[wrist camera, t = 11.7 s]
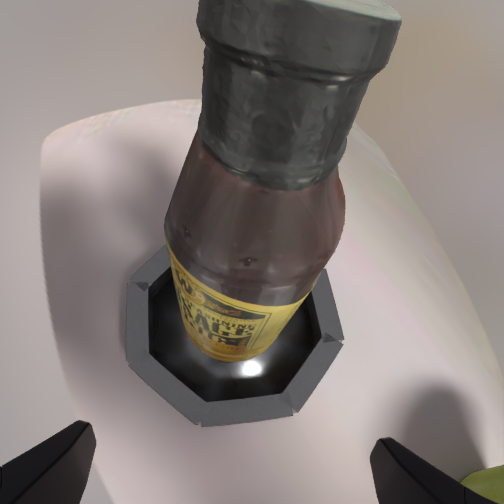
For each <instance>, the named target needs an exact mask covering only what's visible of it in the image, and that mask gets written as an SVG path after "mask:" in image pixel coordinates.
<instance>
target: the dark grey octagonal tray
mask: <svg viewBox="0 0 504 504" xmlns="http://www.w3.org/2000/svg"><path fill="white" fill-rule="evenodd" d="M130 280H131V282H132V283H127V305H126V361H127V362H129V363H130V365H129V367H130V368H131V369H132V370H133V371H134V372H135V373H136V374H137V375H138V376H140V377H141V378H142V379H143V380H144V381H145V382H146V383H147V384H148V385H149V386H150V387H151V388H152V389H154V390H155V391H156V392H157V393H158V394H159V395H160V396H161V397H163V398H164V399H165V400H166V401H167V402H168V403H169V404H171V405H172V406H173V407H174V408H175V409H176V410H178V411H179V412H180V413H181V414H183V415H184V416H185V417H186V418H187V419H189V420H190V421H191V422H192V423H194V424H195V425H198V424H199V423H200V422H201V426H202V427H208V426H220V425H231V424H240V423H248V422H256V421H263V420H270V419H277V418H283V417H289V416H293V413H298V412H299V411H300V409H301V408H302V407H303V405H304V404H305V402H306V401H307V399H308V398H309V397H310V395H311V394H312V392H313V391H314V389H315V388H316V386H317V385H318V384H319V382H320V381H321V379H322V378H323V376H324V375H325V373H326V371H327V370H328V368H329V367H330V365H331V364H332V362H333V361H334V359H335V358H336V356H337V354H338V353H339V351H340V350H341V348H342V346H343V345H344V344H342V343H341V342H342V341H343V340H344V336H343V332H342V328H341V324H340V320H339V316H338V312H337V308H336V304H335V300H334V296H333V293H332V289H331V285H330V282H329V278H328V274H327V271H326V269H322V271H321V273H320V275H319V278H318V280H317V282H316V284H315V285H314V287H313V288H312V290H311V291H310V292H309V294H308V295H307V297H306V298H305V299H304V301H303V302H302V303H301V305H300V306H299V307H298V309H297V310H296V312H295V313H294V314H293V316H292V317H291V318H290V320H289V321H288V322H287V324H286V325H285V327H284V328H283V329H282V331H281V332H280V333H279V335H278V336H277V337H276V339H275V340H274V341H273V343H272V344H271V345H270V346H269V347H268V348H267V349H266V350H265V351H264V352H263V353H261V354H260V355H258V356H256V357H254V358H252V359H250V360H246V361H241V362H232V363H224V362H221V361H219V360H216V359H214V358H211V357H209V356H208V355H206V354H205V353H203V352H201V350H199V349H198V348H197V347H196V346H195V345H194V343H193V342H192V340H191V339H190V337H189V336H188V334H187V332H186V329H185V326H184V322H183V318H182V314H181V310H180V305H179V302H178V299H177V293H176V289H175V285H174V280H173V273H172V268H171V263H170V260H169V253H168V251H167V244H166V245H165V246H164V247H163V248H162V249H160V250H159V251H158V252H157V253H156V254H155V255H154V256H153V257H152V258H151V259H150V260H149V261H148V262H146V263H145V264H144V265H143V266H142V267H141V268H140V269H139V270H138V271H137V272H136V273H135V274H134V275H133V276H132V277H131V278H130Z"/></svg>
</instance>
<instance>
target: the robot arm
mask: <svg viewBox="0 0 504 504" xmlns="http://www.w3.org/2000/svg"><path fill="white" fill-rule="evenodd" d="M95 448H96V438H95V435H94V432H93V428H92V425H91V424H90V423H89V422H85V421H81V420H78V421H76V422H74V423H73V424H71V425H69V426H68V427H66V428H65V429H63V430H61V431H60V432H58V433H56V434H55V435H53V436H52V437H50V438H48V439H47V440H45V441H43V442H42V443H40V444H38V445H37V446H35V447H33V448H32V449H30V450H29V451H26V452H25V453H23V454H21V455H20V456H18V457H16V458H14V459H13V460H11V461H9V462H7V463H6V464H4V465H2V467H1V466H0V504H79V503H80V501H81V498H82V495H83V492H84V490H85V487H86V484H87V481H88V476H89V472H90V468H91V464H92V460H93V456H94V452H95ZM370 463H371V468H372V473H373V478H374V484H375V489H376V494H377V498H378V501H379V504H499V503H496V502H494V501H492V500H490V499H488V498H486V497H483V496H481V495H480V494H478V493H476V492H474V491H472V490H471V489H469V488H467V487H466V486H464V485H462V484H461V483H459V482H458V481H456V480H454V479H453V478H451V477H450V476H448V475H446V474H445V473H443V472H442V471H440V470H439V469H437V468H436V467H434V466H432V465H431V464H429V463H428V462H426V461H425V460H423V459H422V458H420V457H419V456H417V455H416V454H414V453H413V452H411V451H410V450H409V449H407V448H406V447H404V446H403V445H401V444H400V443H398V442H397V441H395V440H394V439H393V438H391V437H386V438H380V439H379V440H377V442H376V444H375V446H374V448H373V450H372V452H371V455H370Z"/></svg>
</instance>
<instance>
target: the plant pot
mask: <svg viewBox="0 0 504 504" xmlns="http://www.w3.org/2000/svg"><path fill="white" fill-rule="evenodd" d="M460 483H461V484H462V485H464V486H466V487H467V488H469V489H471V490H472V491H474V492H476V493H478V494H480V495H481V496H483V497H486V498H488V499H490V500H492V501H494V502H496V503H499V504H504V465H501V466H497V467H493V468H489V469H485V470H480V471H476V472H473V473H471V474H470V475H468V476H467V477H466V478H464V479H463V480H462V481H461V482H460Z"/></svg>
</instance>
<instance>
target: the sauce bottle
mask: <svg viewBox="0 0 504 504" xmlns="http://www.w3.org/2000/svg"><path fill="white" fill-rule="evenodd" d="M196 23H197V27H198V29H199V32H200V36H201V39H202V40H203V41H204V42H205V44H206V47H205V49H204V64H203V67H202V68H203V84H202V110H201V114H200V117H199V121H198V129H197V131H196V134H195V136H194V139H193V141H192V144H191V146H190V149H189V152H188V154H187V157H186V160H185V162H184V165H183V168H182V171H181V173H180V176H179V179H178V182H177V185H176V187H175V190H174V193H173V196H172V199H171V202H170V205H169V208H168V211H167V214H166V217H165V224H164V229H165V236H166V243H167V251H168V253H169V260H170V263H171V268H172V273H173V280H174V285H175V289H176V293H177V299H178V302H179V305H180V310H181V314H182V318H183V322H184V326H185V329H186V332H187V334H188V336H189V337H190V339H191V340H192V342H193V343H194V345H195V346H196V347H197V348H198V349H199V350H201V352H203V353H205V354H206V355H208V356H209V357H211V358H214V359H216V360H219V361H221V362H224V363H232V362H241V361H246V360H250V359H252V358H254V357H256V356H258V355H260V354H261V353H263V352H264V351H265V350H266V349H267V348H268V347H269V346H270V345H271V344H272V343H273V341H274V340H275V339H276V337H277V336H278V335H279V333H280V332H281V331H282V329H283V328H284V327H285V325H286V324H287V322H288V321H289V320H290V318H291V317H292V316H293V314H294V313H295V312H296V310H297V309H298V307H299V306H300V305H301V303H302V302H303V301H304V299H305V298H306V297H307V295H308V294H309V292H310V291H311V290H312V288H313V287H314V285H315V284H316V282H317V280H318V278H319V275H320V273H321V271H322V269H323V268H324V267H325V265H326V264H327V262H328V261H329V259H330V258H331V256H332V254H333V253H334V252H335V249H336V247H337V245H338V243H339V240H340V237H341V234H342V231H343V226H344V222H345V195H344V191H343V187H342V183H341V181H340V179H339V173H338V163H339V161H340V160H341V158H342V156H343V154H344V152H345V149H346V143H347V135H348V133H349V131H350V129H351V127H352V124H353V121H354V119H355V117H356V114H357V112H358V110H359V107H360V104H361V101H362V98H363V97H364V95H365V92H366V90H367V87H368V84H369V82H370V80H371V79H372V78H373V77H374V76H375V75H376V74H377V73H379V72H380V71H381V70H382V69H383V68H384V67H385V66H386V64H387V63H388V61H389V58H390V55H391V52H392V50H393V48H394V45H395V43H396V39H397V35H398V31H399V29H400V26H401V16H400V14H399V13H398V12H397V11H396V10H394V9H393V8H391V7H390V6H389V5H387V4H386V3H384V2H382V1H380V0H199V7H198V14H197V19H196Z"/></svg>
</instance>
